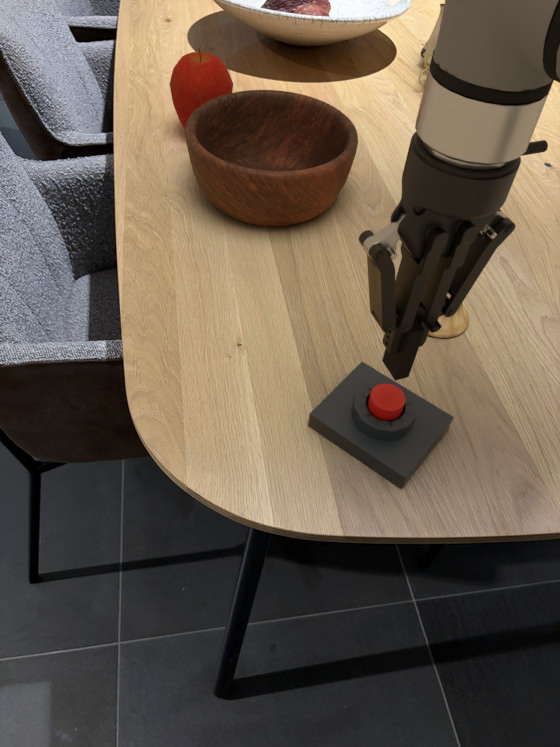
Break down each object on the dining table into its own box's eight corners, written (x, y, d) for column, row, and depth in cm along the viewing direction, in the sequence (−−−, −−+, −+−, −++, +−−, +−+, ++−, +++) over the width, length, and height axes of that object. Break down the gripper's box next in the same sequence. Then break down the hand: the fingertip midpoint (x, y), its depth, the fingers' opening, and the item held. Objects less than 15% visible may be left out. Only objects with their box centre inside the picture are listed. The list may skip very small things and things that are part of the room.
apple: (180, 149, 101) (174, 63, 90) (167, 121, 107) (160, 37, 96) (240, 142, 104) (240, 57, 93) (223, 115, 110) (222, 32, 99)
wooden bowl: (252, 134, 106) (253, 73, 98) (376, 185, 97) (389, 123, 90) (154, 196, 92) (147, 131, 84) (290, 262, 83) (296, 197, 76)
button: (408, 406, 63) (412, 395, 62) (390, 426, 61) (393, 416, 60) (379, 388, 65) (382, 377, 63) (361, 408, 63) (363, 397, 61)
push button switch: (448, 428, 66) (459, 406, 63) (401, 489, 61) (410, 468, 58) (358, 373, 71) (364, 350, 68) (307, 425, 65) (311, 403, 62)
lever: (546, 156, 76) (549, 136, 74) (510, 162, 74) (512, 142, 73) (480, 146, 87) (482, 128, 85) (448, 151, 85) (449, 133, 84)
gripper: (515, 104, 45) (433, 328, 63) (357, 126, 41) (318, 356, 59) (580, 157, 40) (472, 381, 58) (410, 186, 37) (351, 415, 55)
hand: (395, 368), depth 59 cm, fingers closed
